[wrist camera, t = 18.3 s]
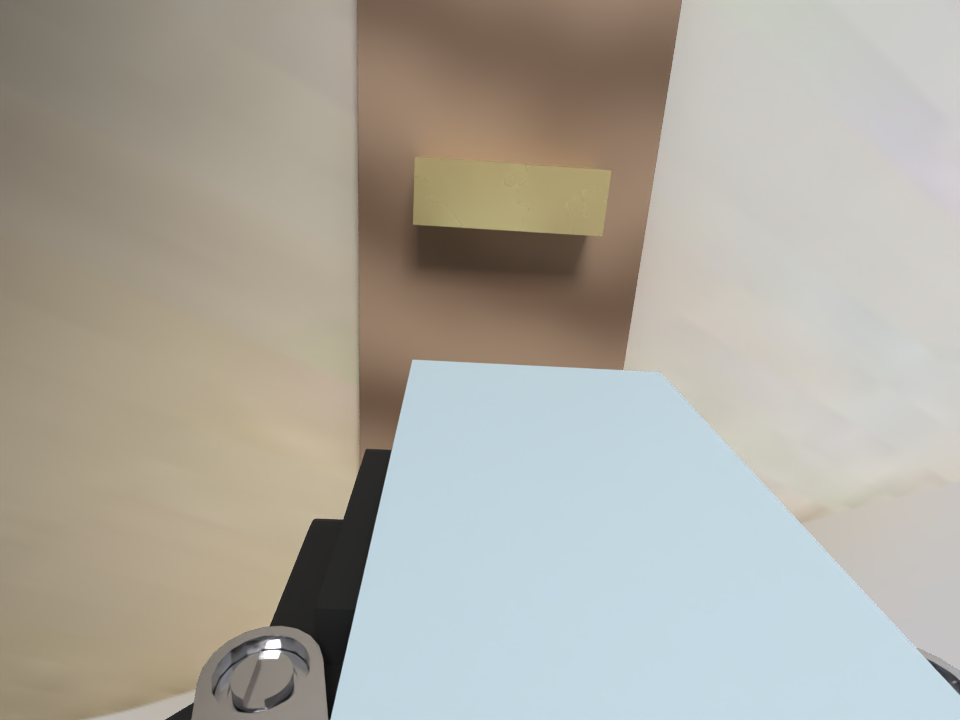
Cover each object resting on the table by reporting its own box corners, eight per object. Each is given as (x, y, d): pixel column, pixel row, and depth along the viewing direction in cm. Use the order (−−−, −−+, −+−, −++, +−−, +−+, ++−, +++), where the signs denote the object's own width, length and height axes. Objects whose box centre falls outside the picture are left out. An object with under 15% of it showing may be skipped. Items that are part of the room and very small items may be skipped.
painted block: (412, 359, 11) (280, 937, 3) (660, 371, 12) (1184, 936, 3) (406, 567, 13) (311, 1318, 5) (623, 574, 13) (908, 1296, 5)
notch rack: (360, -842, 13) (332, -1115, 10) (790, -770, 14) (878, -1011, 11) (363, 477, 25) (351, 520, 22) (596, 486, 25) (614, 529, 22)
